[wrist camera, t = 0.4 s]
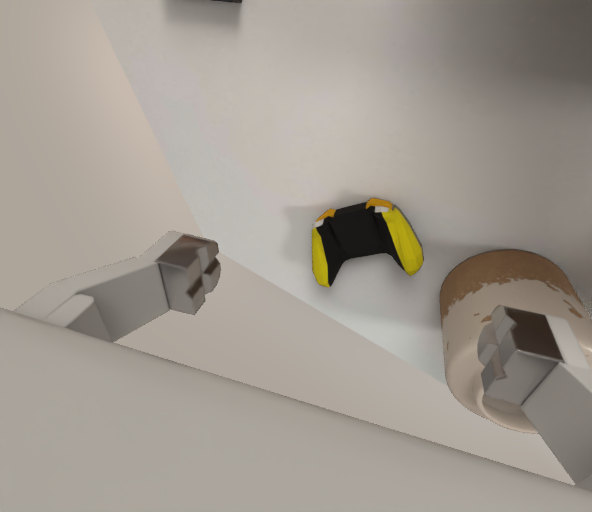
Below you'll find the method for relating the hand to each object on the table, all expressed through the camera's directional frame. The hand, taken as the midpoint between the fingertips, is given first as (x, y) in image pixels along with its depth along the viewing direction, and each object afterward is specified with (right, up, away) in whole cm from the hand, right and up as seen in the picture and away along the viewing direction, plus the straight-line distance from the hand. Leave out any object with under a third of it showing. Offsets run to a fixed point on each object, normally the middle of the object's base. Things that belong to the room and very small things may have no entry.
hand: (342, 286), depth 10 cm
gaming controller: (+8, +4, +37) cm, 38 cm away
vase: (+27, -4, +36) cm, 45 cm away
